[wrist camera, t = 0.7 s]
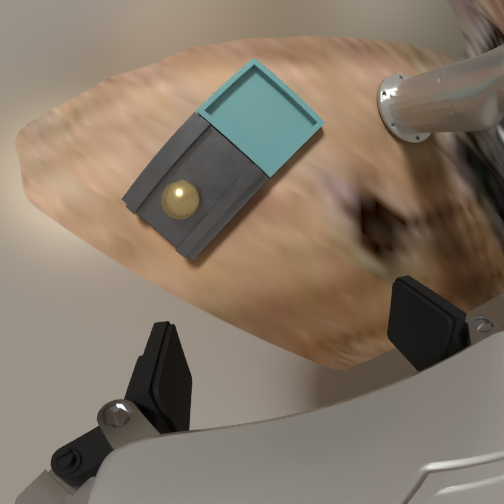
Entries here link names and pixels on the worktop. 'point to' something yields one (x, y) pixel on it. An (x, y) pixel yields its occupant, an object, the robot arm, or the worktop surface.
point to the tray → (261, 116)
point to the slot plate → (203, 177)
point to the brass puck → (180, 199)
